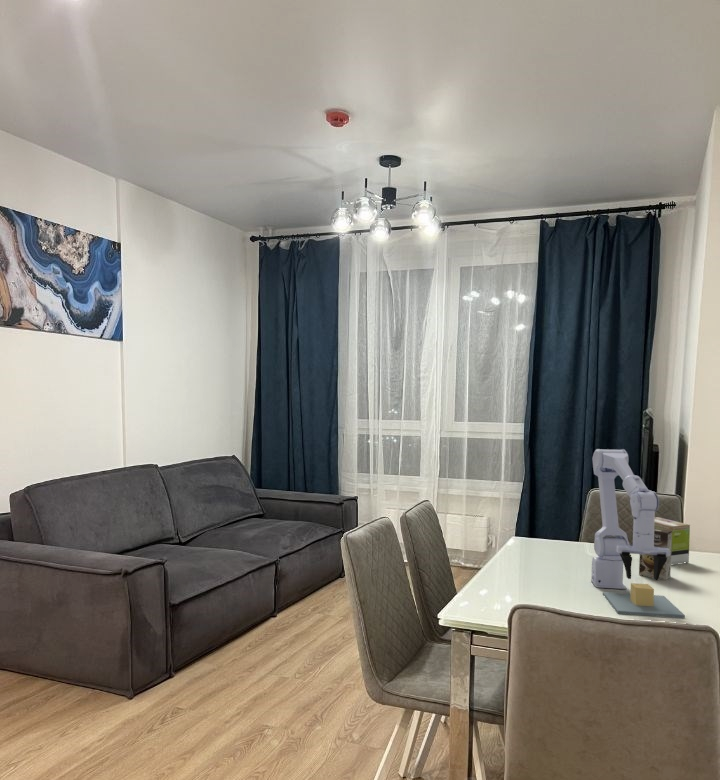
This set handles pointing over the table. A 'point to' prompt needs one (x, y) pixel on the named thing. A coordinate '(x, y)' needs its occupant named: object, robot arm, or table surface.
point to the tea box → (676, 538)
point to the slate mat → (659, 607)
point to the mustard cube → (642, 594)
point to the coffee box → (647, 561)
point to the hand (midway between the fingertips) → (642, 578)
